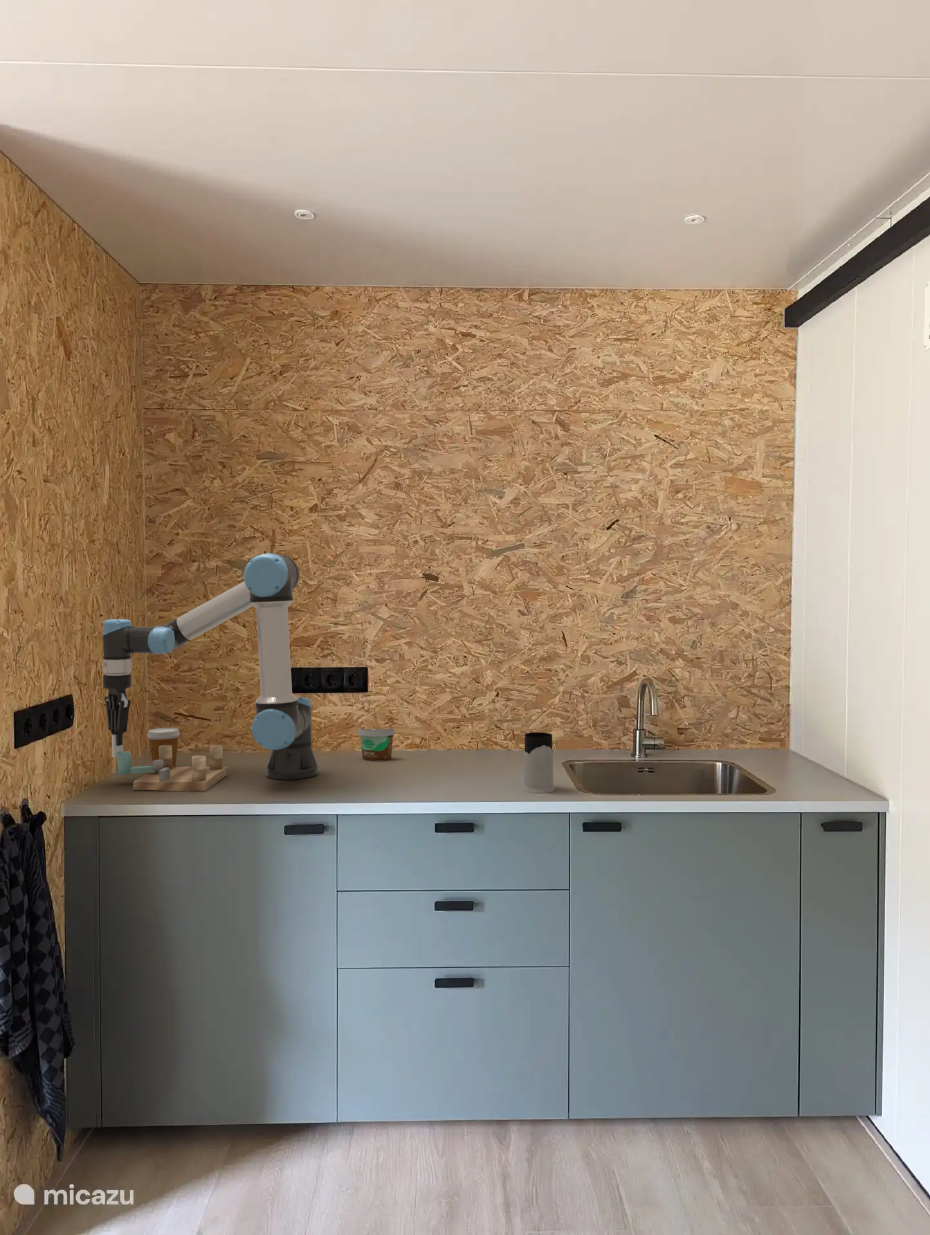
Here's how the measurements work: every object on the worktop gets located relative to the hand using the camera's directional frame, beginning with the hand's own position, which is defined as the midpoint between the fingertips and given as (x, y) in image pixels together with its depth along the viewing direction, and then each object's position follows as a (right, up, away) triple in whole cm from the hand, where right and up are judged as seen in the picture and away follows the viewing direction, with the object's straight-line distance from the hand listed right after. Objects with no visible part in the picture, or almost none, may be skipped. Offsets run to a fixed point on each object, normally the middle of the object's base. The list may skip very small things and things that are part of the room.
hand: (117, 756), depth 259 cm
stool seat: (+18, -8, 0) cm, 20 cm away
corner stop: (+16, -5, -7) cm, 18 cm away
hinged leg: (+6, -5, 0) cm, 8 cm away
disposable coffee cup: (+7, -7, +19) cm, 21 cm away
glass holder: (+118, -7, -8) cm, 119 cm away
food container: (+70, -6, +31) cm, 77 cm away
